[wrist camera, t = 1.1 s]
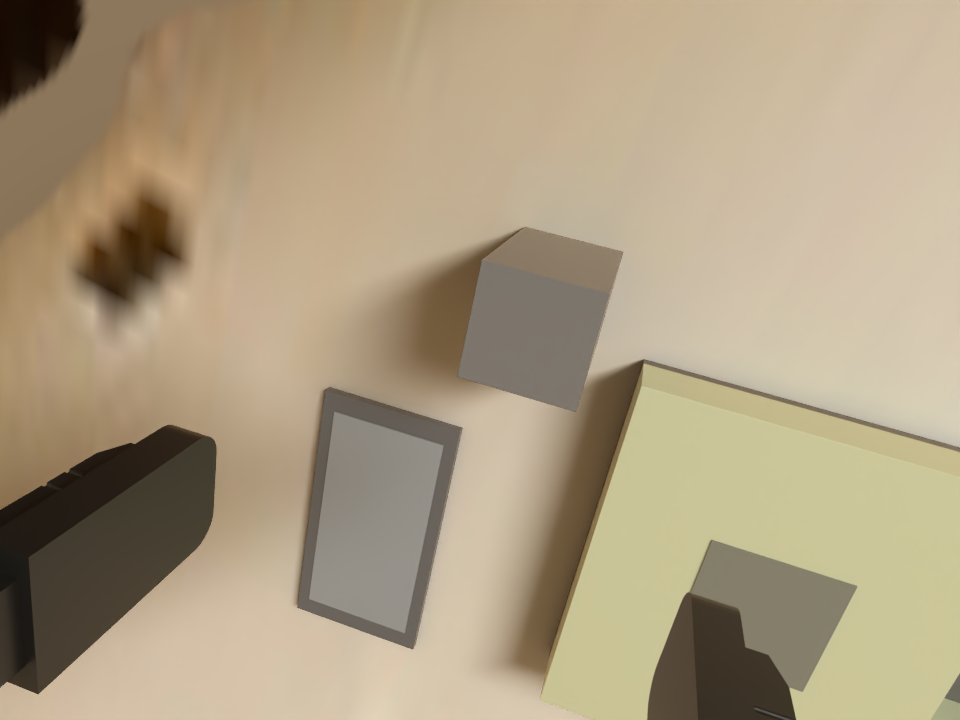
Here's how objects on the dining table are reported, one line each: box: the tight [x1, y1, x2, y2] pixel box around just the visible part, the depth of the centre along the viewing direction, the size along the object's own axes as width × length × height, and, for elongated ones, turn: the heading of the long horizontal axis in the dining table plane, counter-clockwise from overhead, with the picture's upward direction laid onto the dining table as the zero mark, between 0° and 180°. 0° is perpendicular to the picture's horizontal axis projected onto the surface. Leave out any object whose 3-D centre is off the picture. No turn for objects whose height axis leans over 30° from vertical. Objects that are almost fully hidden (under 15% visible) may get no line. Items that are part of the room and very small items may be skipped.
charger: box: [457, 227, 623, 412], centre depth 25 cm, size 4×4×7 cm
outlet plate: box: [540, 360, 960, 720], centre depth 27 cm, size 16×24×3 cm, turn 78°
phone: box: [297, 387, 462, 649], centre depth 34 cm, size 13×7×1 cm, turn 168°
